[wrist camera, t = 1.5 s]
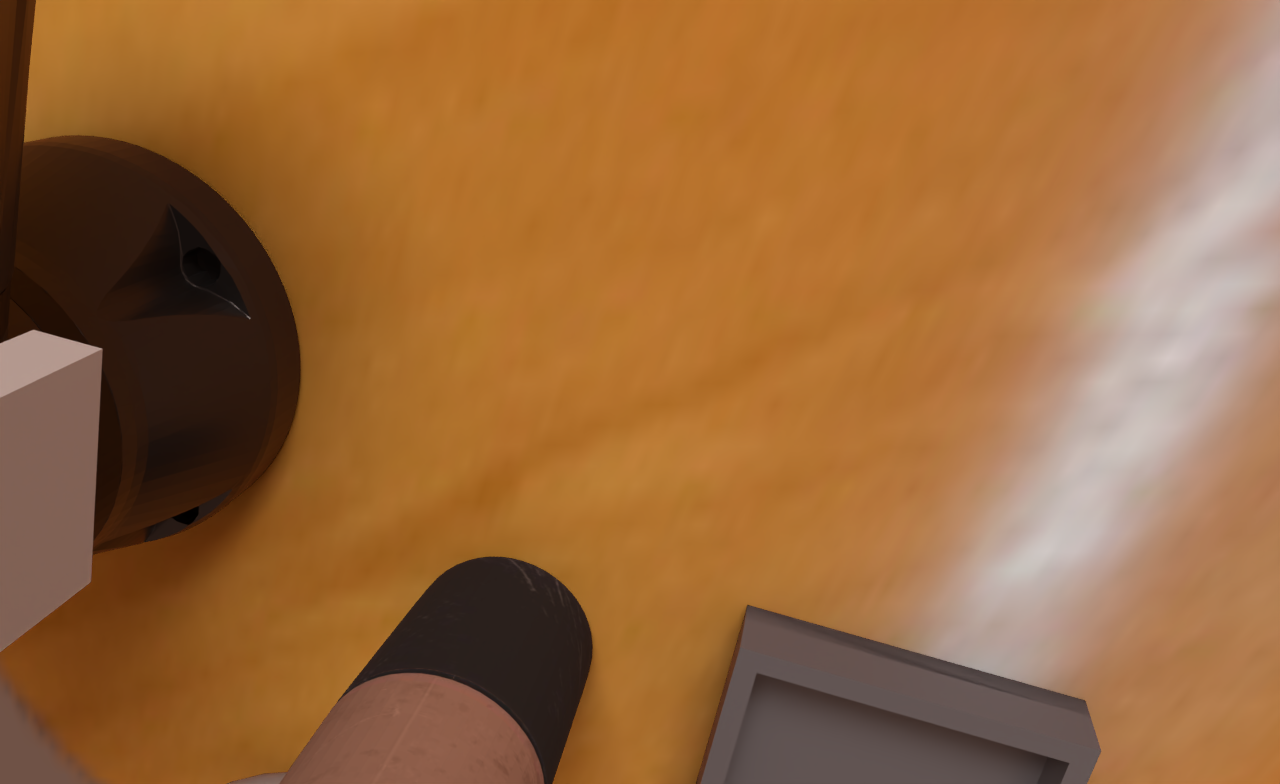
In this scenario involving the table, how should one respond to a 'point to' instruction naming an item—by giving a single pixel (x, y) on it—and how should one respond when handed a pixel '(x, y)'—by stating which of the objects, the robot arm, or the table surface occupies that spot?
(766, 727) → the tray
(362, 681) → the travel mug
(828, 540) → the table surface
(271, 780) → the donut
